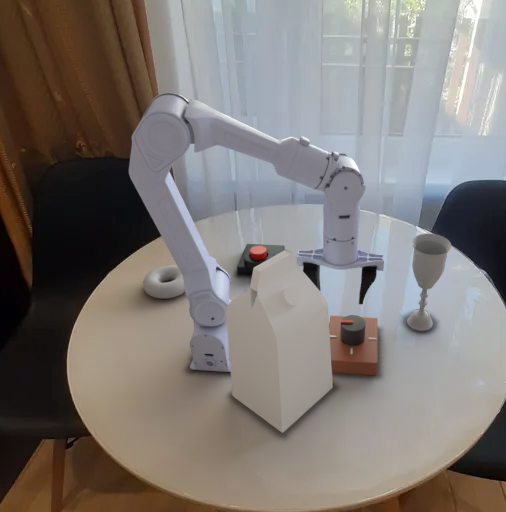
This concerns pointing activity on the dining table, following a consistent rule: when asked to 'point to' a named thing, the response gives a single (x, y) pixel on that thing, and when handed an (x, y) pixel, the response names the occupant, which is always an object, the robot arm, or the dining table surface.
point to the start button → (258, 253)
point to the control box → (248, 264)
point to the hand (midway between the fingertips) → (339, 299)
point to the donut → (167, 289)
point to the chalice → (427, 273)
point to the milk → (279, 343)
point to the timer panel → (354, 349)
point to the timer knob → (352, 330)
